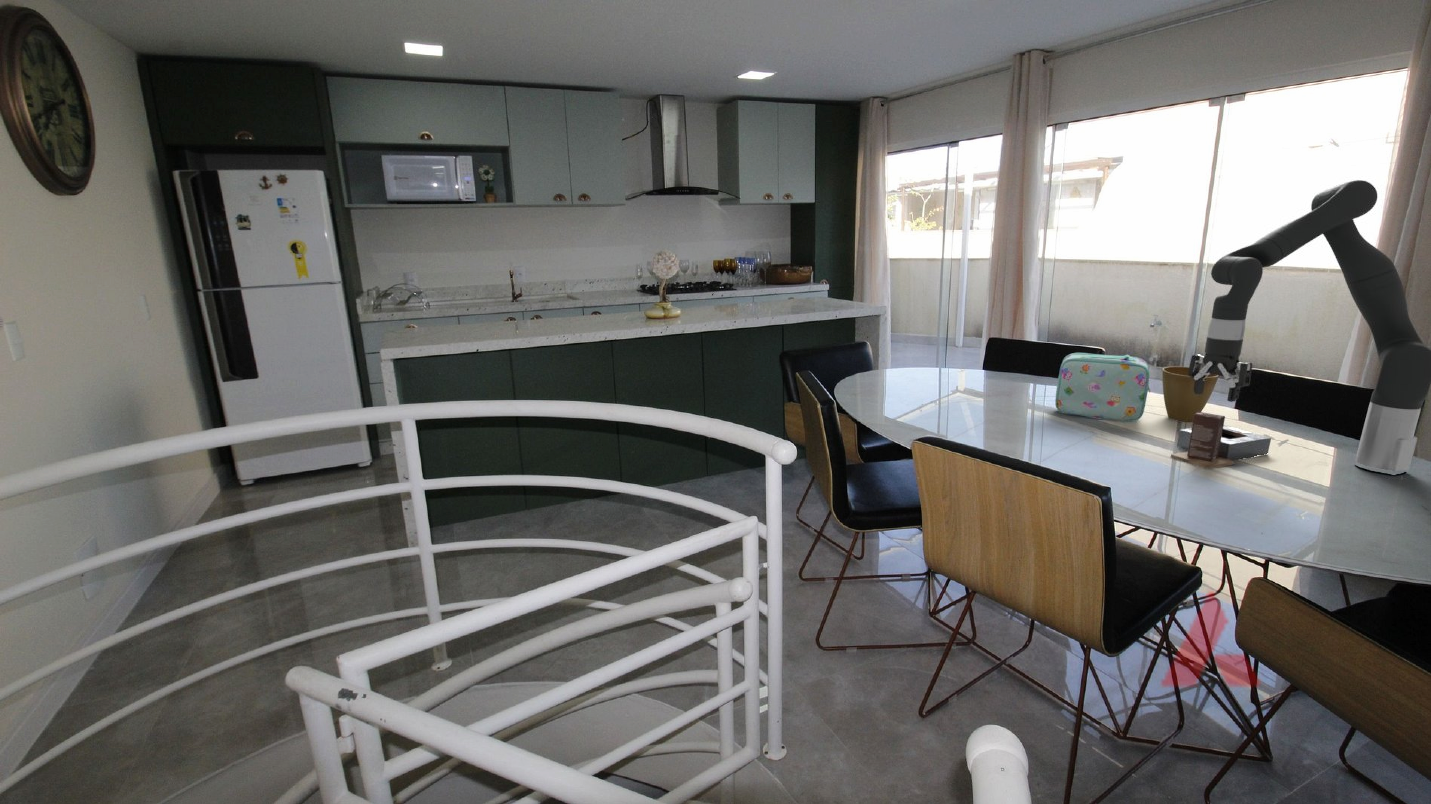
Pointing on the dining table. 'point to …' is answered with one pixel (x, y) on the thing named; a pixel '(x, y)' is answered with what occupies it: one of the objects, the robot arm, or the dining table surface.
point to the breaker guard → (1233, 443)
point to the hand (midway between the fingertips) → (1214, 397)
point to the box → (1206, 436)
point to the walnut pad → (1202, 461)
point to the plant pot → (1184, 393)
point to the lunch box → (1103, 386)
